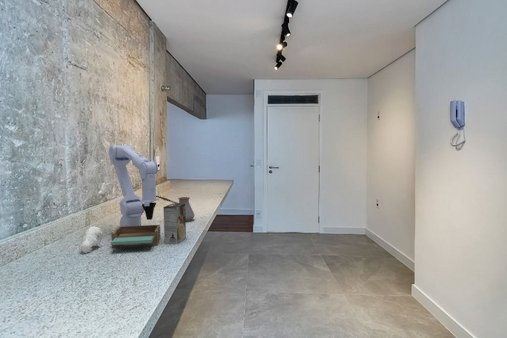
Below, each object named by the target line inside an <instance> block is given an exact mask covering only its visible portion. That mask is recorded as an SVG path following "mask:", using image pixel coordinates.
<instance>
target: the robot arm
mask: <svg viewBox="0 0 507 338" xmlns="http://www.w3.org/2000/svg"><path fill="white" fill-rule="evenodd" d="M108 157H109V160H110V163H111V165H113V166H114V170H115V173H116V176H117V179H118V183H119V186H120V190H121V193H122V195H123V196H122V197H123V198H122V199H121V200H120V202H119V207H120V208H119V211H120V214H121V215H122V216H121V217H120V219H119V227H121V226H142V216H143V214H144V213H145V217H146V220H148V221H149V220H150V221H151V220H153V217H154V213H155V212H154V211H155V207H156V205H157V202H156V201H159V199H160V198H158V197H156V196H157V195H156V194H157V193H156V192H157V191H156V189H157V188H156V175H157V173H158V171H159V166H158V164H157V161H154V160H153V161H150V160H149V159H148V158H146V157H145V156H144V154H141V153H139V154H137V153H136V152H135V151H134V148H133V146H132V145H130V144H127V145H122V144H120V145H114V144H111V145H110V147H109V148H108ZM130 162H131V164H132V165H133V166H134V167H135V168H136V169H138V173H139V176H140V177H139V178H140V180H141V196H139V195H137V194H136V193H135V191H134V187H133V184H132V181H131V178H130V175H129V171H128V169H127V165H129V164H130ZM141 197H142V198H141Z"/></svg>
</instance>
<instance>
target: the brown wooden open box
mask: <svg viewBox="0 0 507 338" xmlns="http://www.w3.org/2000/svg"><path fill="white" fill-rule="evenodd" d="M144 236H154V239H153V241H152V243H140V245H124V244H121V245H111V249H118V248H121V249H122V248H138V247H156V246H158V245H159V242H160V240H161V224H149V225H148V224H147V225H141V226H121V227H120V226H117V228H115V230H113V232H112V233H111V241H112V240H114V239H115V238H125V237H144Z"/></svg>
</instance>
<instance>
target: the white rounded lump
mask: <svg viewBox="0 0 507 338" xmlns="http://www.w3.org/2000/svg"><path fill="white" fill-rule="evenodd" d="M103 233H104V232H103V231H102V229H101V228H100V227H97V226H95V225H93V226H90V227H88V228H87V229H86V231H85V233H84V237H83V238H82V243H81V244H80V248H79V249H80V250H81V251H82V252H83V253H84V254H87V253H88V252H92V250H93V248H92V247H94V246H97V247H98V248H101V247H102V239H103Z"/></svg>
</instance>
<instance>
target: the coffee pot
mask: <svg viewBox="0 0 507 338" xmlns="http://www.w3.org/2000/svg"><path fill="white" fill-rule="evenodd" d="M156 198H159V199H161V200H162V201H166V202H170V203H180V204H185V216H186V223H187V221H188V222H191V221H192V220H193V219H194V218H195V213H194V211H193V208H192V206H191V204H190V202H189V200H190V199H191V197H188V196H181V197H178V198H177V200H178V202H177V201H173V200H171V199H169V198H166V197H164V196H163V197H162V196H159V195H156Z"/></svg>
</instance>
